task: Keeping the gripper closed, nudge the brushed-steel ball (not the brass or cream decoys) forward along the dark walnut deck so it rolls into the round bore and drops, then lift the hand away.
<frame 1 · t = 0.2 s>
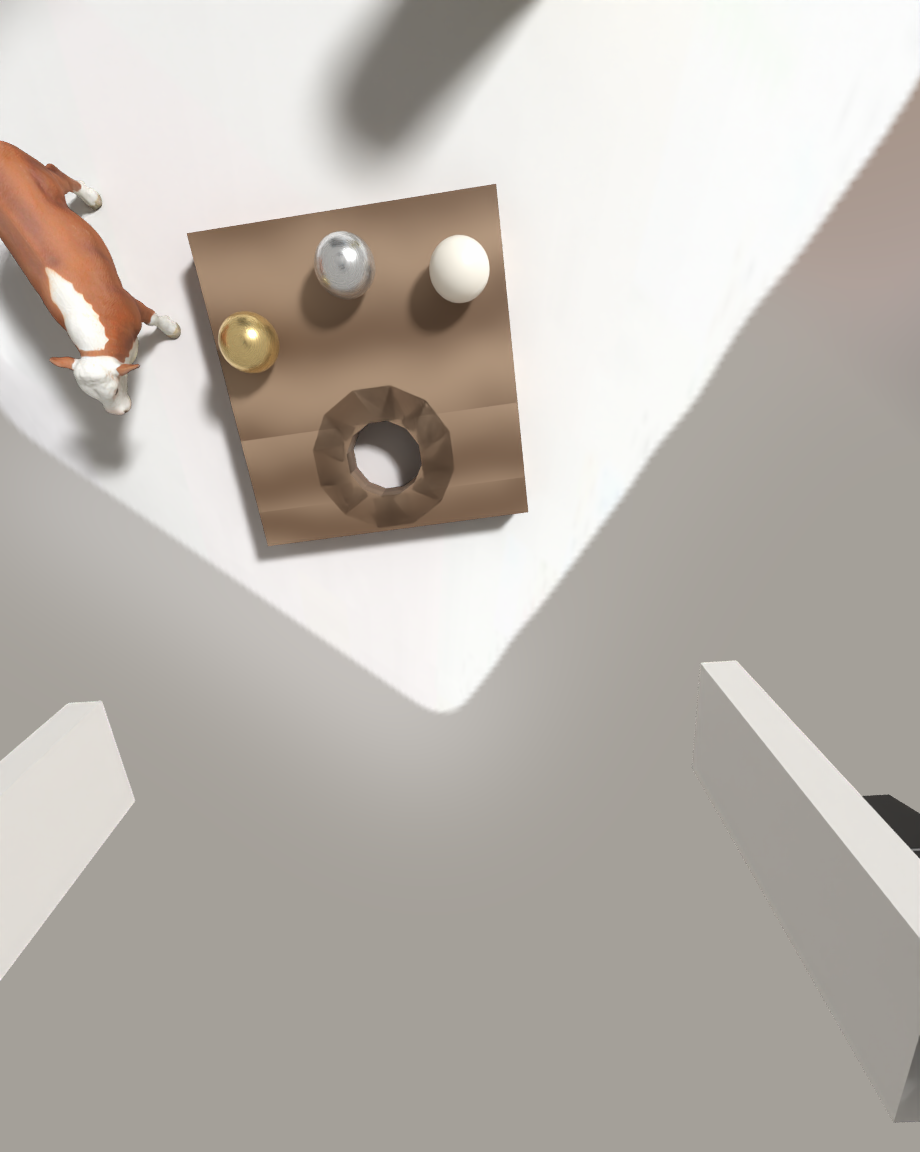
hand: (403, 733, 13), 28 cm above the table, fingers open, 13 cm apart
deck: (376, 382, 36), on the table
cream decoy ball: (459, 269, 31), point 4 cm above the table, touching deck
steel ball: (344, 266, 31), point 4 cm above the table, touching deck
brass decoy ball: (249, 342, 32), point 4 cm above the table, touching deck
bull figurine: (129, 294, 35), on the table
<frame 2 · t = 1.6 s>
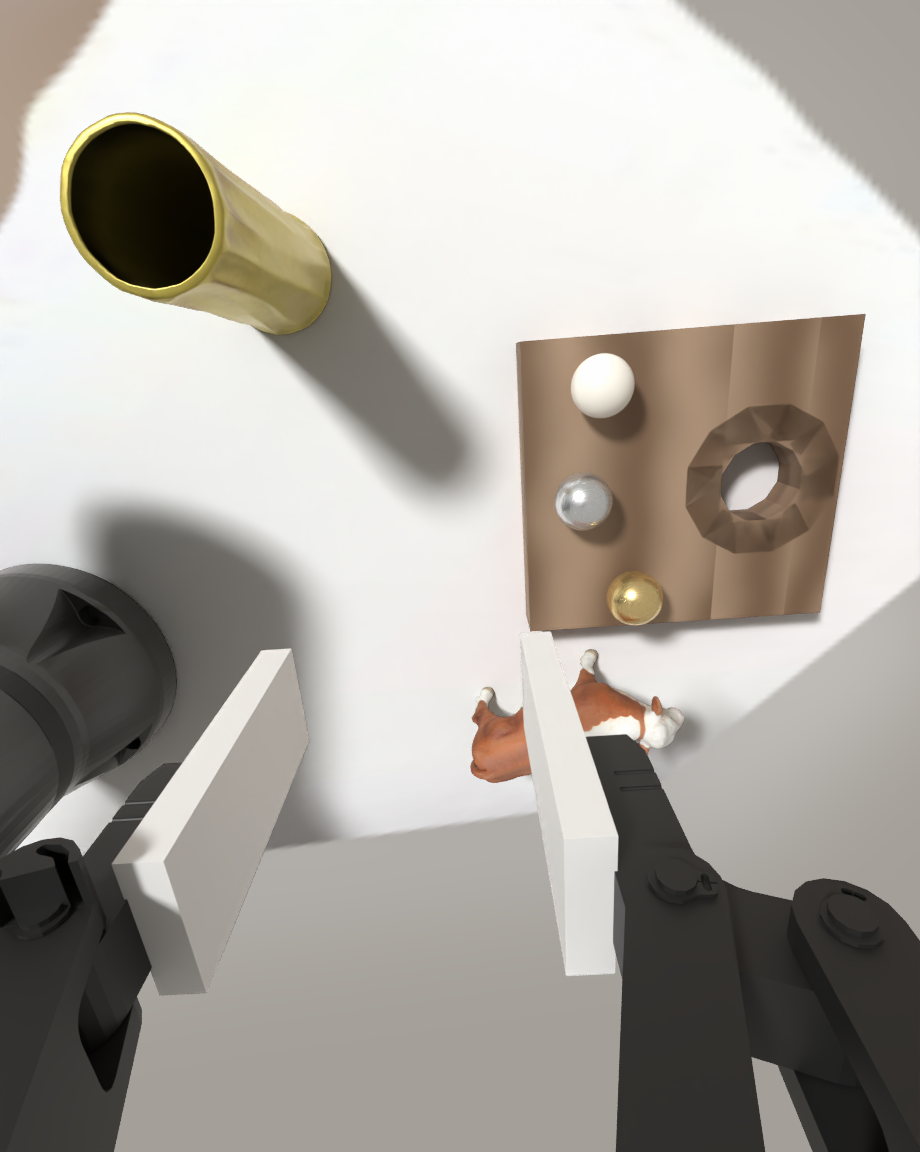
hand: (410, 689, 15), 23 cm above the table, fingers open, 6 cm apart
deck: (667, 479, 36), on the table
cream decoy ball: (602, 386, 30), point 4 cm above the table, touching deck
steel ball: (582, 501, 32), point 4 cm above the table, touching deck
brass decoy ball: (634, 597, 34), point 4 cm above the table, touching deck
bull figurine: (557, 682, 41), on the table
vase: (277, 275, 32), on the table
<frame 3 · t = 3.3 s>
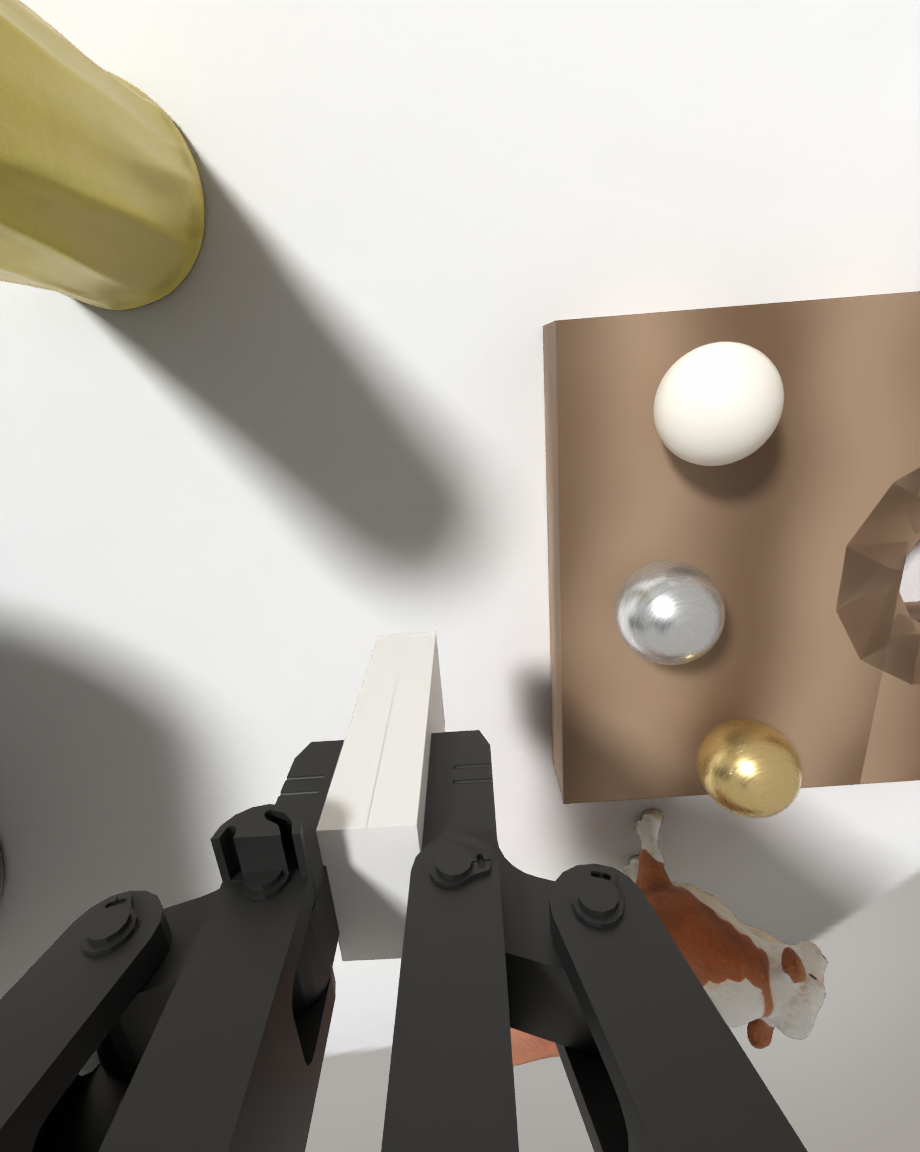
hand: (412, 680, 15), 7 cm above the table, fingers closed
deck: (791, 555, 21), on the table
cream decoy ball: (715, 405, 16), point 4 cm above the table, touching deck
steel ball: (667, 612, 18), point 4 cm above the table, touching deck
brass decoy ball: (747, 767, 20), point 4 cm above the table, touching deck
bull figurine: (597, 853, 27), on the table
vase: (108, 199, 17), on the table
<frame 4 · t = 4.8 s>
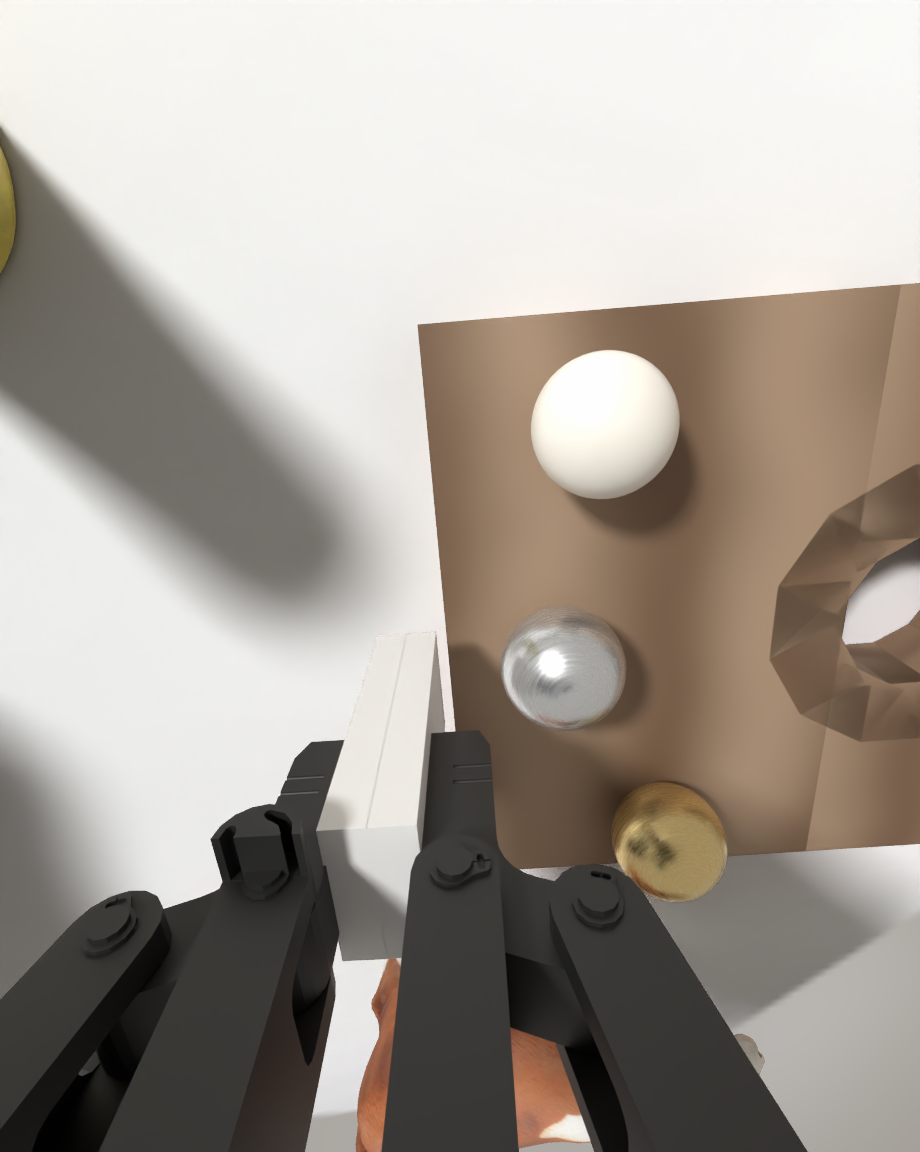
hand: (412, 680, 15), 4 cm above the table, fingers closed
deck: (725, 591, 19), on the table
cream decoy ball: (603, 426, 13), point 4 cm above the table, touching deck
steel ball: (562, 667, 15), point 4 cm above the table, touching deck
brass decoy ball: (667, 839, 17), point 4 cm above the table, touching deck
bull figurine: (525, 915, 24), on the table
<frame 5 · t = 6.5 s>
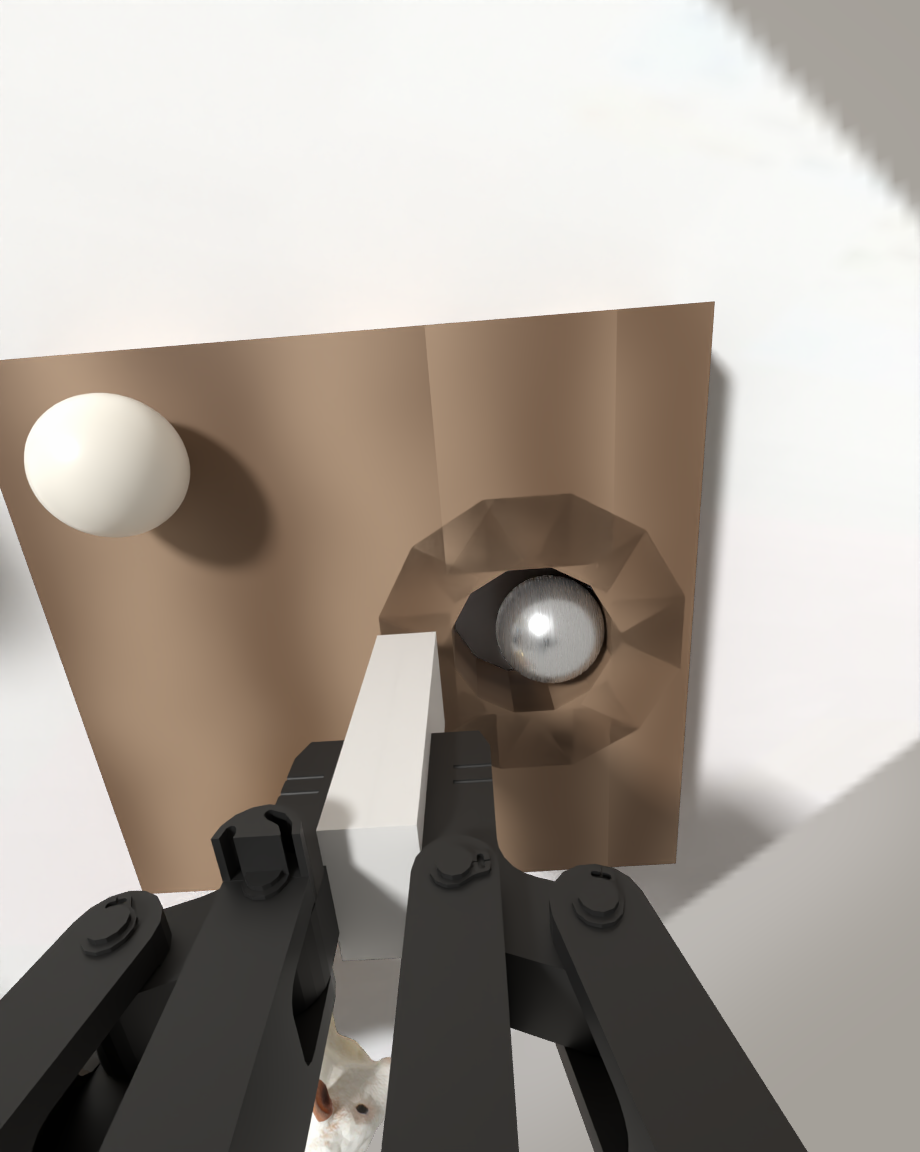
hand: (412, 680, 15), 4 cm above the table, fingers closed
deck: (385, 618, 19), on the table
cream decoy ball: (112, 466, 13), point 4 cm above the table, touching deck
steel ball: (549, 628, 17), point 2 cm above the table, tilted 88°
bull figurine: (259, 932, 24), on the table
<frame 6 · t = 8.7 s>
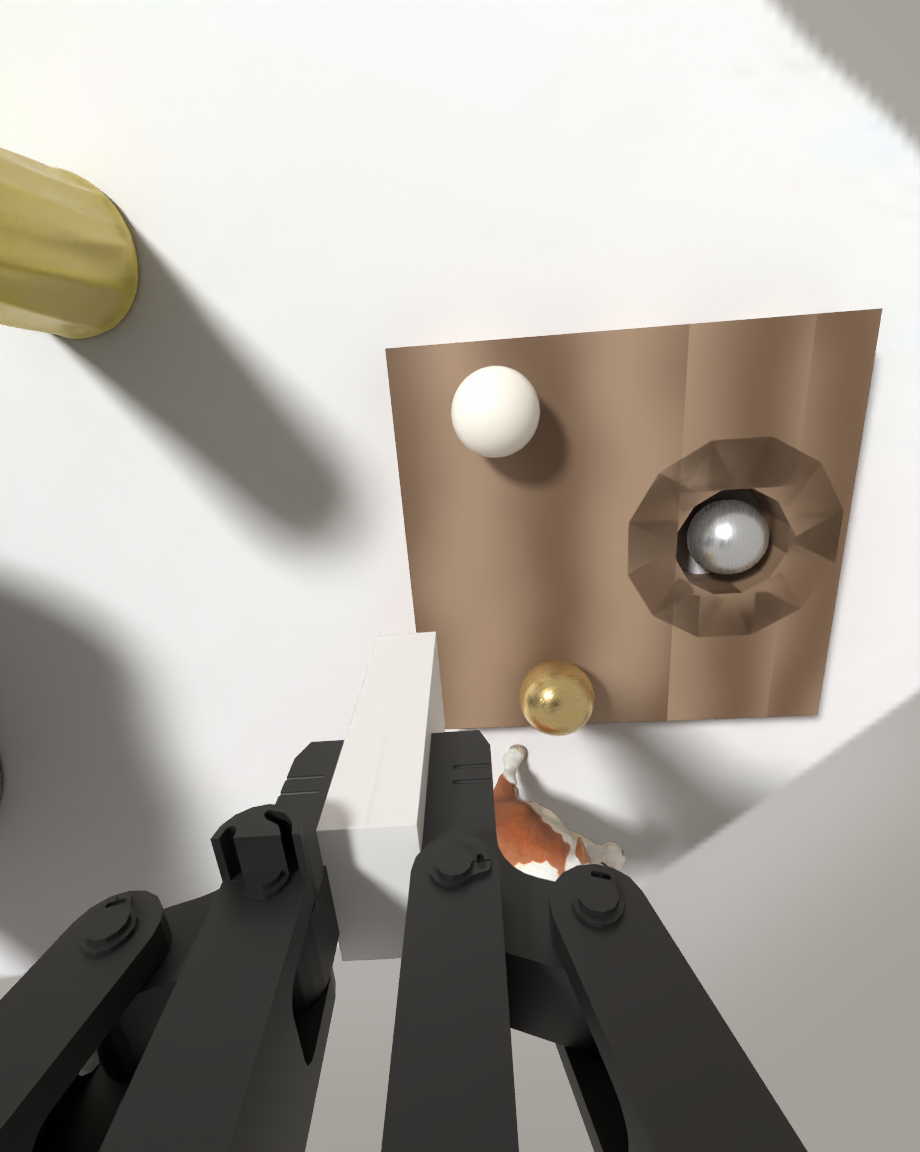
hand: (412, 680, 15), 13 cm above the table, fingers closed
deck: (609, 533, 26), on the table
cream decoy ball: (495, 412, 21), point 4 cm above the table, touching deck
steel ball: (726, 537, 25), point 2 cm above the table, tilted 70°
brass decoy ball: (556, 697, 25), point 4 cm above the table, touching deck
bull figurine: (476, 783, 32), on the table
vase: (70, 258, 24), on the table
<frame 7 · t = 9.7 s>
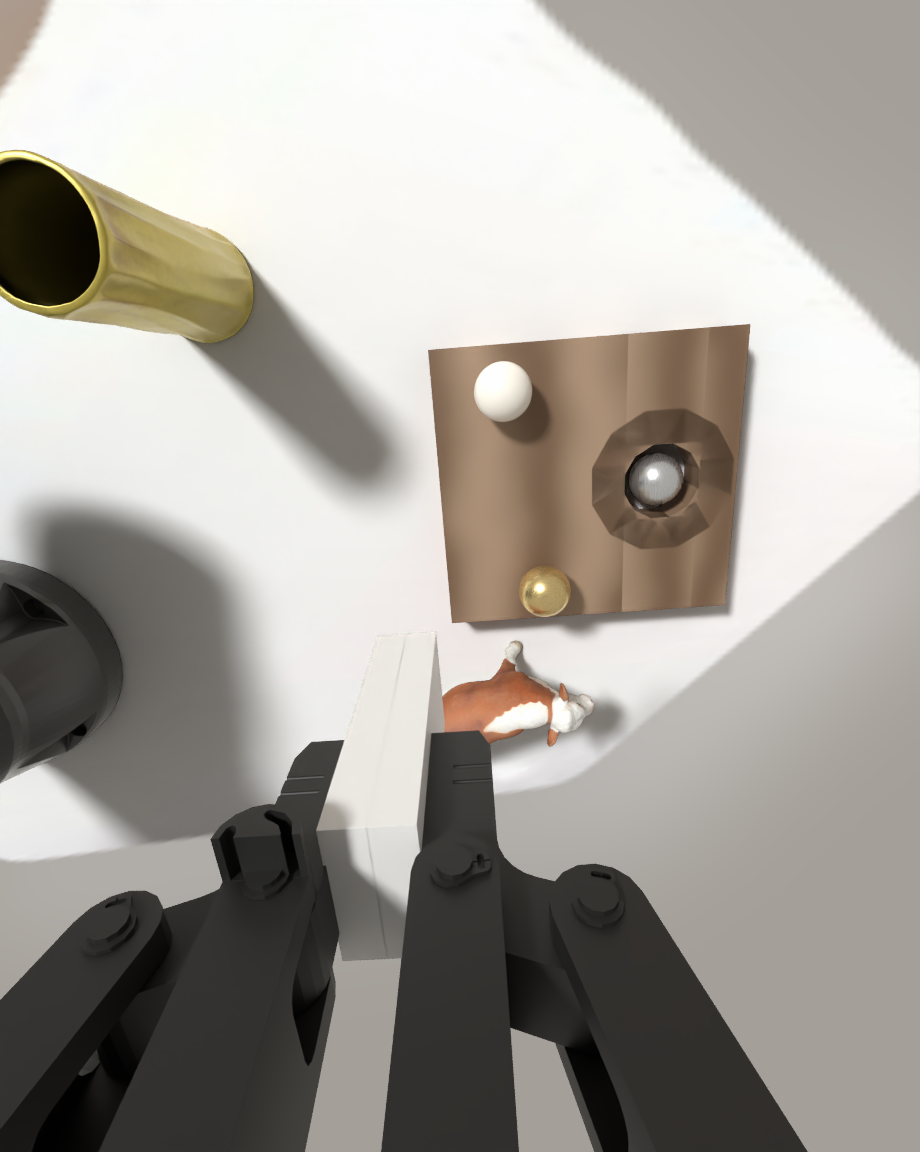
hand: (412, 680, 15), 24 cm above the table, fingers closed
deck: (579, 479, 38), on the table
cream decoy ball: (502, 392, 32), point 4 cm above the table, touching deck
steel ball: (655, 479, 36), point 2 cm above the table, tilted 62°
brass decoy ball: (544, 591, 36), point 4 cm above the table, touching deck
bull figurine: (485, 672, 43), on the table
vase: (204, 287, 34), on the table
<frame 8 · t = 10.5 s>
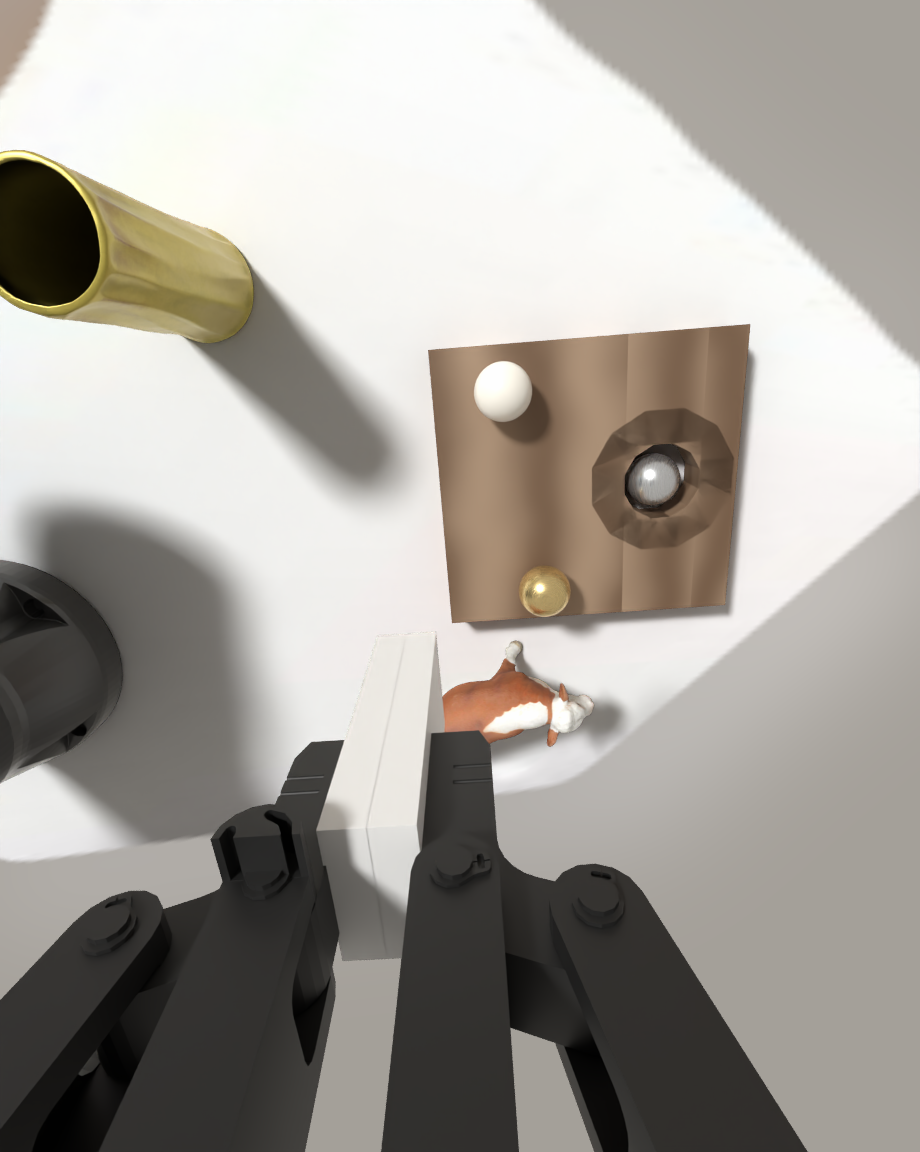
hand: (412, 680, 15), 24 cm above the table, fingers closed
deck: (579, 479, 38), on the table
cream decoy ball: (502, 392, 32), point 4 cm above the table, touching deck
steel ball: (652, 479, 36), point 2 cm above the table, tilted 55°
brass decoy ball: (544, 591, 36), point 4 cm above the table, touching deck
bull figurine: (485, 672, 43), on the table
vase: (204, 287, 34), on the table
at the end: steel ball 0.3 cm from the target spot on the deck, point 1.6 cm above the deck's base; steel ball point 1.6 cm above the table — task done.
